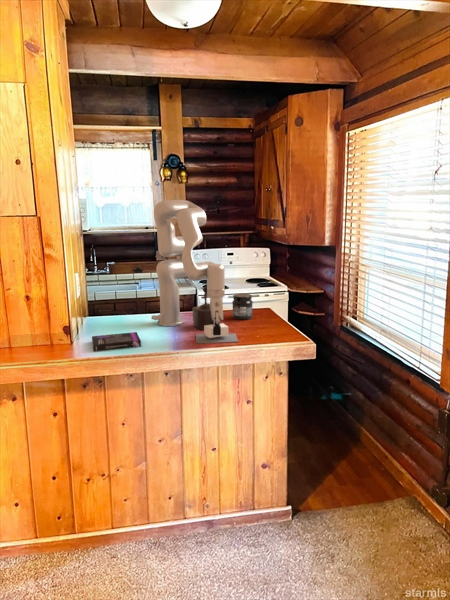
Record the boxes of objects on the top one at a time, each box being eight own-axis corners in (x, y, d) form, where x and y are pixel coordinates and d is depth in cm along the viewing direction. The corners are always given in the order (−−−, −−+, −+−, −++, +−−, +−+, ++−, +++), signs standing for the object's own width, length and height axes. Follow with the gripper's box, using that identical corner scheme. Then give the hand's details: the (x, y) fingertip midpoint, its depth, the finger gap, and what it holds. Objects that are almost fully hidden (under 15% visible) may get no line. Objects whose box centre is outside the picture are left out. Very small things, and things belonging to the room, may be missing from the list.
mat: (196, 343, 189) (196, 342, 189) (195, 335, 201) (195, 334, 201) (238, 342, 191) (238, 341, 191) (235, 334, 202) (235, 333, 202)
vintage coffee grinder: (221, 328, 212) (221, 291, 208) (200, 331, 208) (199, 293, 204) (209, 320, 226) (209, 285, 222) (189, 322, 221) (188, 287, 218)
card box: (228, 335, 194) (228, 326, 193) (209, 337, 191) (209, 328, 190) (223, 331, 200) (223, 323, 199) (204, 334, 196) (204, 325, 196)
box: (137, 339, 199) (92, 342, 193) (137, 331, 198) (91, 335, 193) (141, 348, 186) (92, 352, 180) (140, 340, 185) (92, 344, 180)
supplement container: (243, 314, 237) (243, 292, 235) (256, 318, 229) (257, 295, 227) (228, 317, 231) (228, 295, 228) (241, 321, 223) (241, 298, 220)
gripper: (226, 297, 183) (226, 338, 187) (222, 288, 200) (223, 326, 204) (208, 297, 182) (208, 338, 186) (206, 289, 199) (206, 327, 203)
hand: (216, 332), depth 195 cm, fingers closed on card box, 7 cm apart
